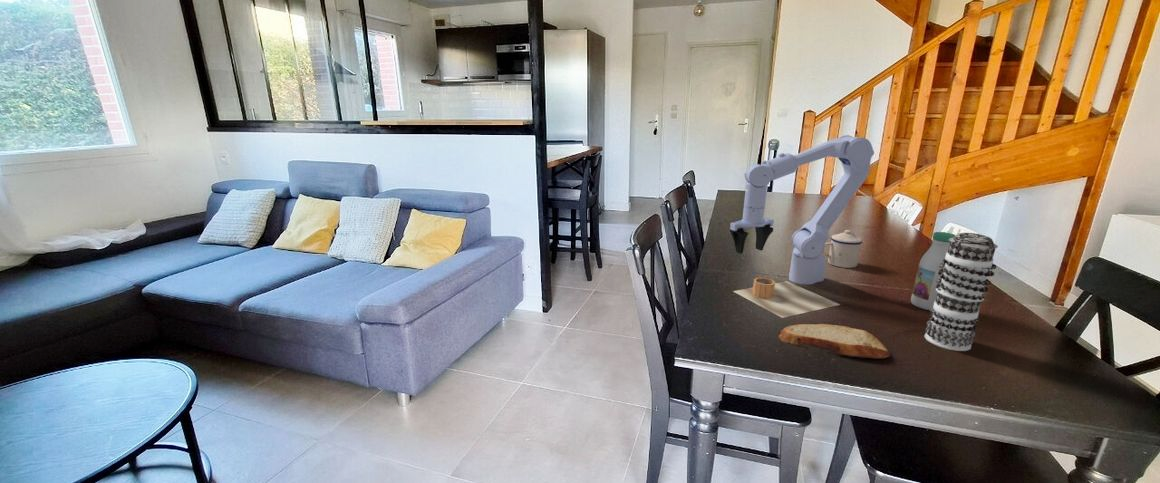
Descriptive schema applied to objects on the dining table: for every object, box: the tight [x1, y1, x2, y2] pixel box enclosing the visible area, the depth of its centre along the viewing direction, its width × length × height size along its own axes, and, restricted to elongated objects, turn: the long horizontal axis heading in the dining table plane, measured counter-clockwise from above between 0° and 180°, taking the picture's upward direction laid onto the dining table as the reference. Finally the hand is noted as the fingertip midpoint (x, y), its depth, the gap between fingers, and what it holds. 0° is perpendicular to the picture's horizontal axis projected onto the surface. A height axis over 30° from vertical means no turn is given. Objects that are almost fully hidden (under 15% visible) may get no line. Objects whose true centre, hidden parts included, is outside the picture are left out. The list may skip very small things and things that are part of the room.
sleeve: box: [752, 277, 776, 299], centre depth 126 cm, size 5×5×4 cm
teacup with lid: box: [822, 229, 863, 269], centre depth 152 cm, size 12×9×12 cm
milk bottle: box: [910, 231, 956, 311], centre depth 119 cm, size 8×8×20 cm
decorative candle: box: [923, 232, 999, 352], centre depth 100 cm, size 9×9×25 cm
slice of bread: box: [778, 323, 891, 360], centre depth 102 cm, size 18×18×4 cm
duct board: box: [732, 280, 841, 319], centre depth 124 cm, size 20×18×4 cm
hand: (749, 251), depth 137 cm, fingers open, 7 cm apart
